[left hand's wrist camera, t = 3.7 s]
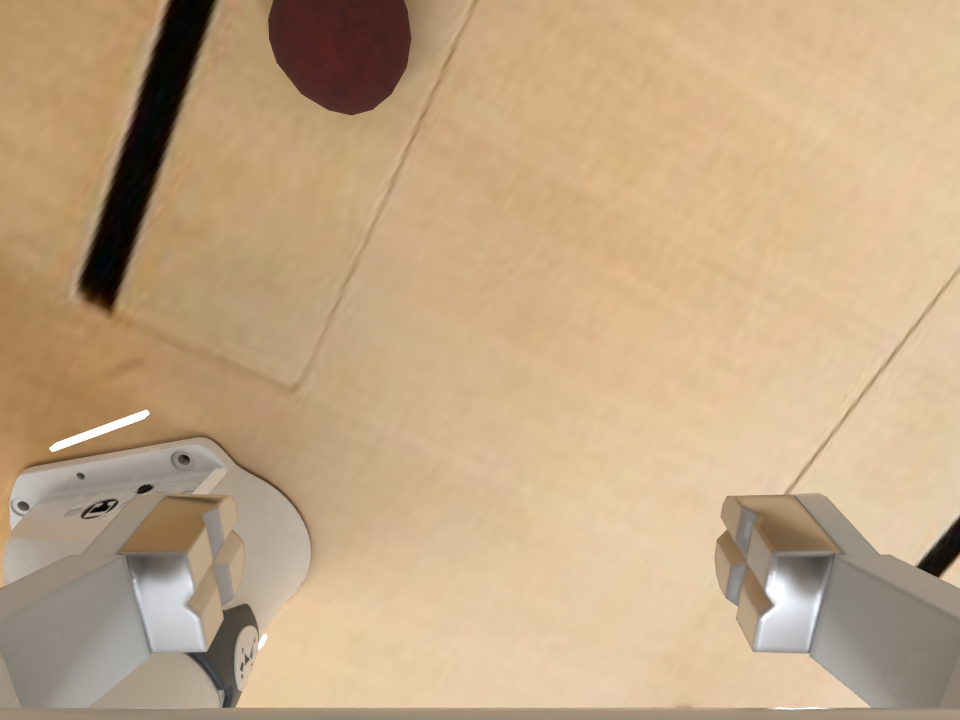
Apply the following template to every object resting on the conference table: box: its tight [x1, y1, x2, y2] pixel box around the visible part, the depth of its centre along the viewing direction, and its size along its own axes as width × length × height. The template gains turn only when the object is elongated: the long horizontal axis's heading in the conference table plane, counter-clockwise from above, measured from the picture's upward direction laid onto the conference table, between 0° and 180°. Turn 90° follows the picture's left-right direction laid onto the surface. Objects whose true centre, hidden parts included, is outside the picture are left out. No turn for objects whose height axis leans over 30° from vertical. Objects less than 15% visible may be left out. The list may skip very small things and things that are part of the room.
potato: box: [268, 0, 411, 115], centre depth 33 cm, size 7×8×7 cm
